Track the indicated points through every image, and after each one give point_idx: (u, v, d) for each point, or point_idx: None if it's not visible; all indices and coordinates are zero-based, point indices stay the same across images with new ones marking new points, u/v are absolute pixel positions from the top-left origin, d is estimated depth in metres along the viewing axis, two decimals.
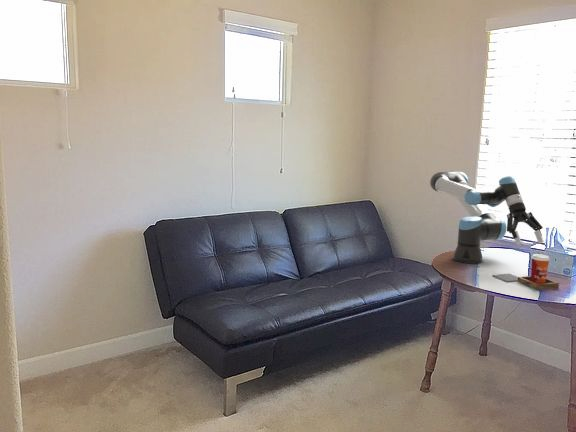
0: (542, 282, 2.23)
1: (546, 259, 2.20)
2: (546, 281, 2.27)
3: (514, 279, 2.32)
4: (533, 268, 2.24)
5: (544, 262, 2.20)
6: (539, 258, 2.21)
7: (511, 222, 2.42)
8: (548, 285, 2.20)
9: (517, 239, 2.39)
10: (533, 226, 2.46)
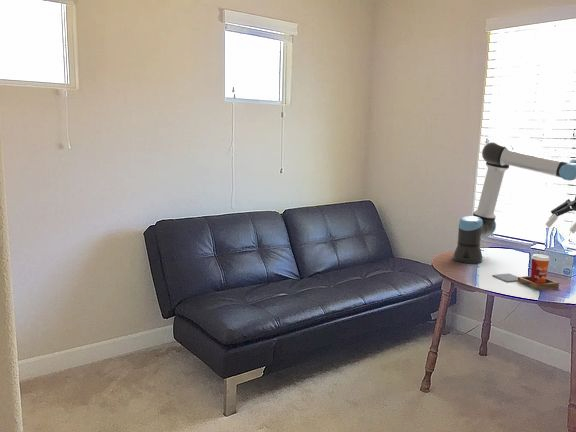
0: (542, 282, 2.23)
1: (546, 259, 2.20)
2: (546, 281, 2.27)
3: (514, 279, 2.32)
4: (533, 268, 2.24)
5: (544, 262, 2.20)
6: (539, 258, 2.21)
7: None
8: (548, 285, 2.20)
9: (575, 228, 2.20)
10: (561, 213, 2.32)
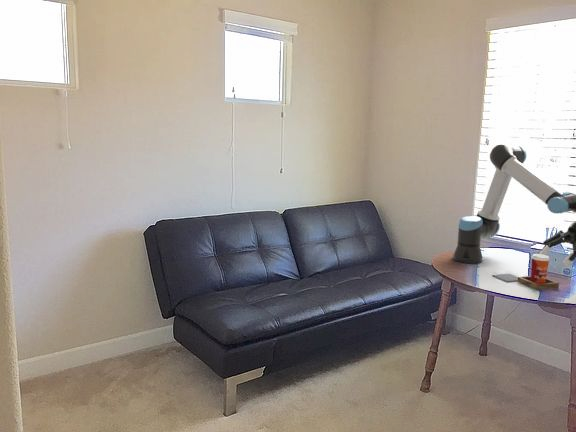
0: (542, 282, 2.23)
1: (546, 259, 2.20)
2: (546, 281, 2.27)
3: (514, 279, 2.32)
4: (533, 268, 2.24)
5: (544, 262, 2.20)
6: (539, 258, 2.21)
7: None
8: (548, 285, 2.20)
9: (568, 261, 2.18)
10: (554, 244, 2.30)
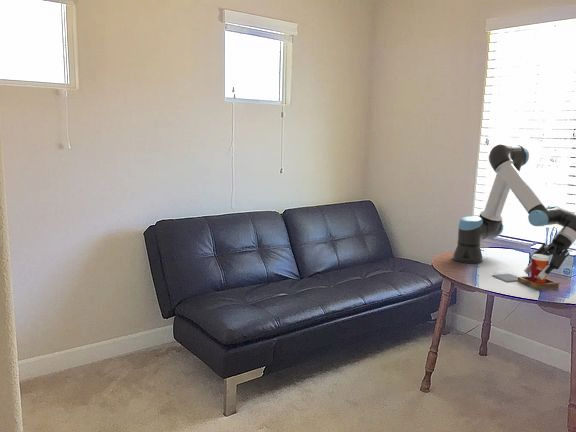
0: (542, 282, 2.23)
1: (546, 259, 2.20)
2: (546, 281, 2.27)
3: (514, 279, 2.32)
4: (533, 268, 2.24)
5: (544, 262, 2.20)
6: (539, 258, 2.21)
7: None
8: (548, 285, 2.20)
9: (544, 274, 2.20)
10: None
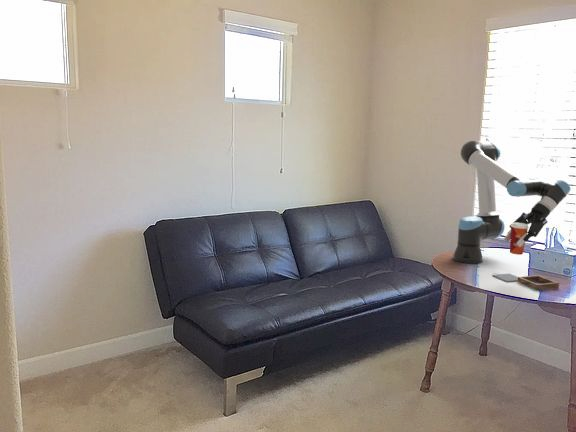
0: (521, 250, 2.28)
1: (525, 227, 2.25)
2: (546, 281, 2.27)
3: (514, 279, 2.32)
4: (512, 236, 2.29)
5: (523, 230, 2.25)
6: (518, 226, 2.26)
7: None
8: (548, 285, 2.20)
9: (522, 242, 2.25)
10: None
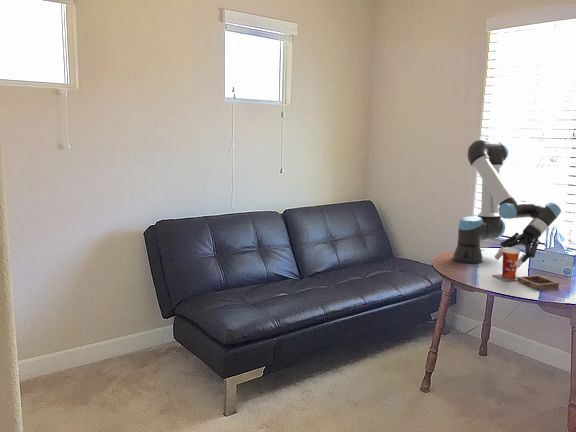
0: (513, 274, 2.32)
1: (516, 252, 2.29)
2: (546, 281, 2.27)
3: (514, 279, 2.32)
4: (504, 261, 2.33)
5: (515, 255, 2.30)
6: (509, 251, 2.30)
7: None
8: (548, 285, 2.20)
9: (520, 262, 2.27)
10: (509, 246, 2.39)
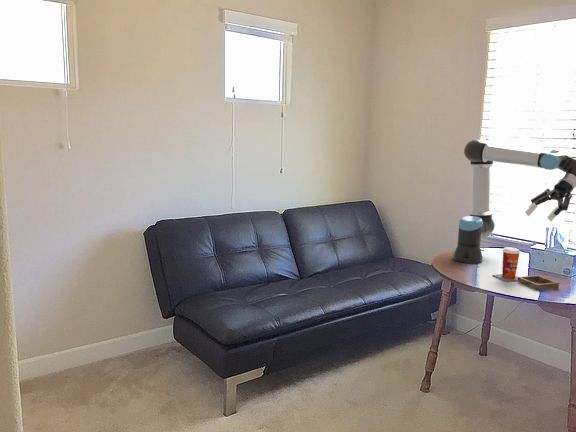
0: (513, 274, 2.32)
1: (516, 252, 2.29)
2: (546, 281, 2.27)
3: (514, 279, 2.32)
4: (504, 261, 2.33)
5: (515, 255, 2.30)
6: (509, 251, 2.30)
7: None
8: (548, 285, 2.20)
9: (553, 216, 2.28)
10: (540, 201, 2.40)
